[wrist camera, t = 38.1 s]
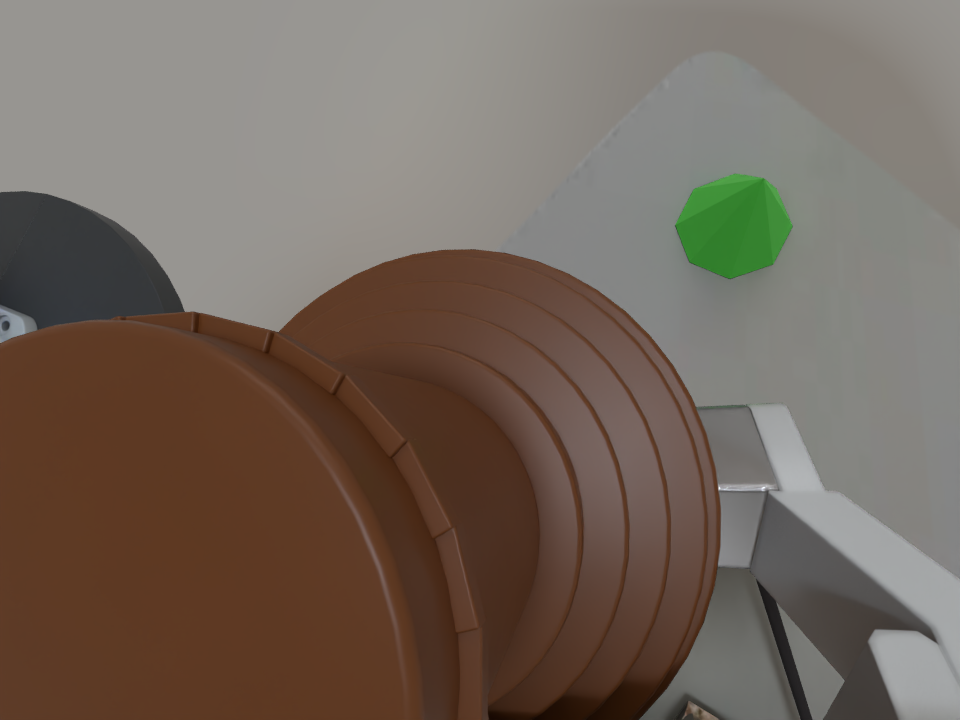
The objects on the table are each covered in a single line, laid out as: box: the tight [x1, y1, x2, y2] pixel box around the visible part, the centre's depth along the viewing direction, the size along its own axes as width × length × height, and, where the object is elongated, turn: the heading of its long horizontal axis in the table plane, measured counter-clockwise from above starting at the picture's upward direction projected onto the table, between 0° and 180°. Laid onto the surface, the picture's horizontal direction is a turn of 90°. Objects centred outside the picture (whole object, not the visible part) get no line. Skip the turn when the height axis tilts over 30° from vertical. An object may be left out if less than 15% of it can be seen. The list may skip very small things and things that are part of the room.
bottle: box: [0, 249, 721, 720], centre depth 10 cm, size 6×6×18 cm
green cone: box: [675, 174, 793, 279], centre depth 27 cm, size 6×6×6 cm
